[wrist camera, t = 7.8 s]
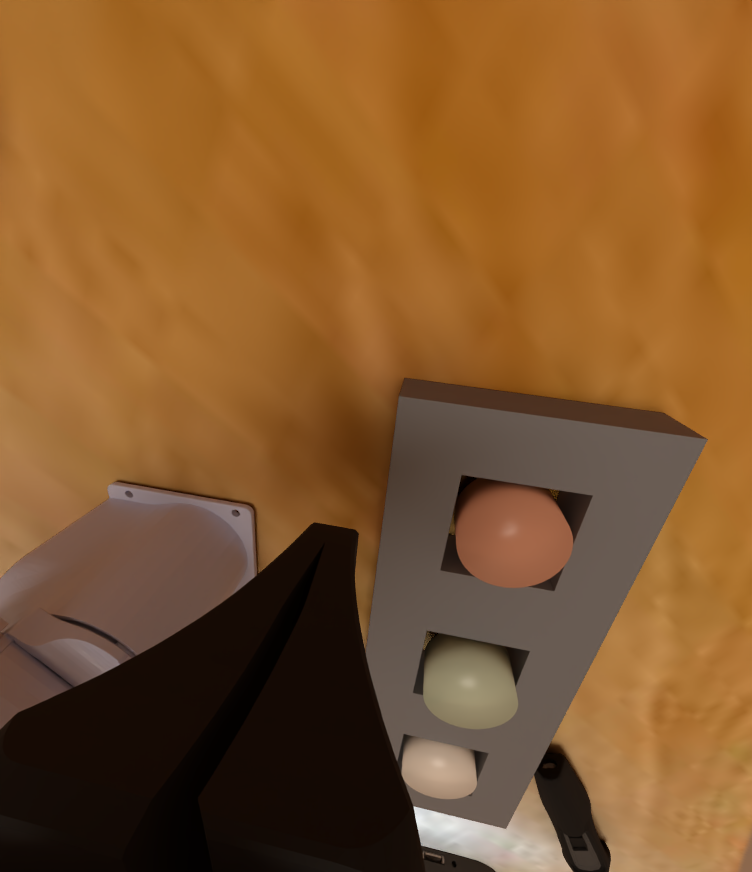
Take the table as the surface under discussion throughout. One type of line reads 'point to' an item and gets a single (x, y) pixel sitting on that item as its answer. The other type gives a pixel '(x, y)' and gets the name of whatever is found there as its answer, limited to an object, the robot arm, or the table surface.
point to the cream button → (438, 768)
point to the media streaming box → (450, 862)
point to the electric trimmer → (571, 815)
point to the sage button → (468, 682)
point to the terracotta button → (511, 533)
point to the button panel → (499, 606)
